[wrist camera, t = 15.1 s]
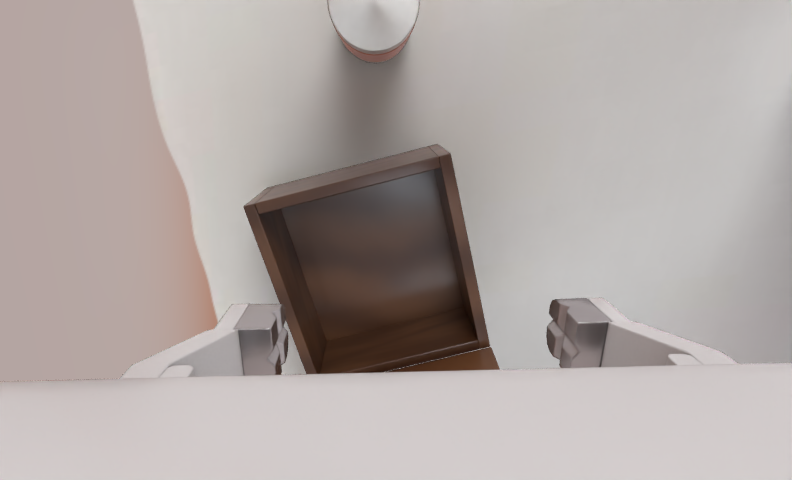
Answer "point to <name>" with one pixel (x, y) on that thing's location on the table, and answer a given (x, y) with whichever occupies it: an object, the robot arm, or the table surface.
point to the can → (374, 26)
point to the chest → (372, 263)
